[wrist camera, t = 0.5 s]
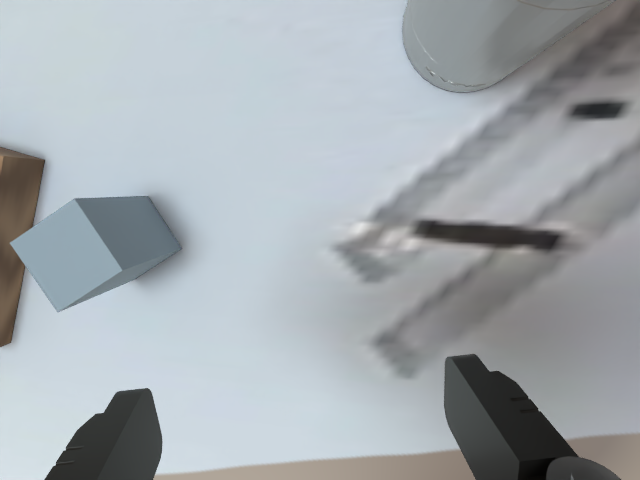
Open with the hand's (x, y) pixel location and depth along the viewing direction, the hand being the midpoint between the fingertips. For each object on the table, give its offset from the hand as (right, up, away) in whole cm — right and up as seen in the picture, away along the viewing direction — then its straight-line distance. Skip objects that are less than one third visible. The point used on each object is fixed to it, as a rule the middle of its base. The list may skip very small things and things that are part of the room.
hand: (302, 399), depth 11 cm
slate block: (-14, +4, +22) cm, 27 cm away
